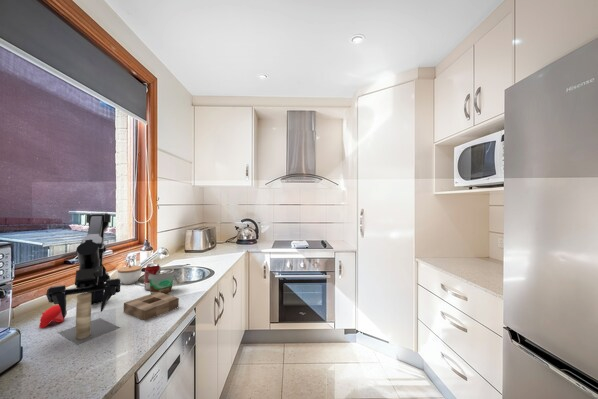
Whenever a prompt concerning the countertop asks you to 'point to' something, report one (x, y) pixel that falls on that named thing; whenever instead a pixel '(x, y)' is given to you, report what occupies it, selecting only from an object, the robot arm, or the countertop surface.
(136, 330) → the countertop surface
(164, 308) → the hole block
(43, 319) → the cap
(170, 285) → the food container
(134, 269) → the lidded jar
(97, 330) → the mat
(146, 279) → the soda can
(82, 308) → the peg
